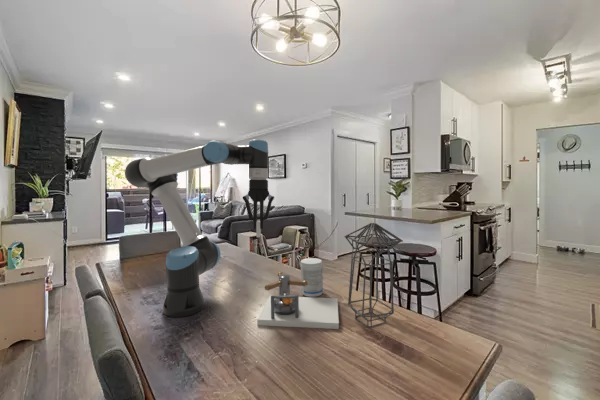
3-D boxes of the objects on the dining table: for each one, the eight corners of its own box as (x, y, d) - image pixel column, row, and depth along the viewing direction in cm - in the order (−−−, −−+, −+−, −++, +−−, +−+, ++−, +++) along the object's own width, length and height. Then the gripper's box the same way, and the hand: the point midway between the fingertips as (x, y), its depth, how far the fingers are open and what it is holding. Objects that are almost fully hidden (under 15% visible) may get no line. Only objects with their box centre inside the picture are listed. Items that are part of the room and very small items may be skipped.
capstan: (260, 299, 114) (260, 270, 113) (299, 295, 118) (298, 267, 117) (266, 317, 99) (265, 285, 98) (309, 312, 103) (309, 280, 102)
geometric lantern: (340, 314, 106) (341, 221, 104) (374, 307, 112) (376, 219, 110) (366, 335, 91) (368, 227, 89) (404, 326, 97) (406, 224, 96)
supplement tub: (327, 294, 124) (327, 261, 123) (309, 299, 119) (309, 265, 118) (313, 287, 132) (313, 256, 131) (296, 292, 127) (296, 259, 126)
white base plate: (257, 325, 98) (256, 295, 98) (269, 300, 118) (269, 275, 118) (338, 329, 95) (338, 298, 95) (337, 303, 115) (337, 277, 114)
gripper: (240, 178, 111) (241, 238, 113) (274, 179, 111) (273, 238, 113) (244, 178, 118) (244, 234, 120) (275, 179, 119) (274, 234, 121)
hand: (258, 236), depth 117 cm, fingers closed
